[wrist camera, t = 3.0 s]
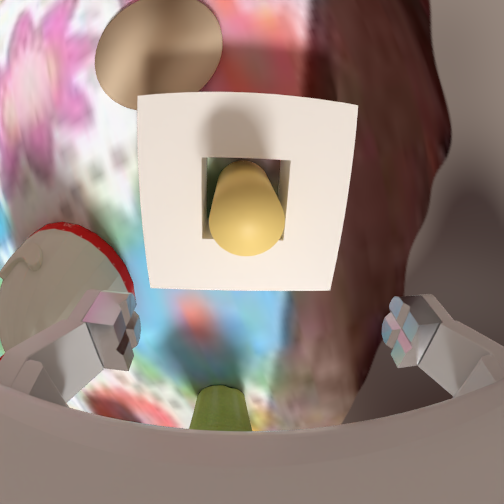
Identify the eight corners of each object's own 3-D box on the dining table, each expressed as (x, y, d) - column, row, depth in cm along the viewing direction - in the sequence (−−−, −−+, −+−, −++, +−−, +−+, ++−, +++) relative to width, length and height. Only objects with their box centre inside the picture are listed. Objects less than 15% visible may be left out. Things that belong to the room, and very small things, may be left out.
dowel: (216, 209, 23) (209, 255, 16) (217, 159, 21) (208, 184, 14) (266, 210, 23) (281, 257, 16) (270, 161, 22) (288, 187, 15)
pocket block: (161, 262, 25) (150, 287, 22) (154, 98, 19) (137, 95, 15) (317, 265, 26) (329, 290, 23) (338, 105, 20) (358, 105, 16)
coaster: (96, 117, 19) (93, 117, 18) (104, 7, 14) (101, 5, 14) (219, 108, 20) (218, 108, 19) (226, -7, 15) (226, -10, 15)
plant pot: (171, 384, 33) (162, 443, 25) (239, 368, 32) (242, 432, 24) (206, 419, 37) (204, 470, 29) (267, 405, 36) (273, 460, 28)
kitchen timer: (8, 240, 23) (-78, 323, 10) (102, 204, 22) (-7, 311, 9) (62, 338, 29) (15, 435, 16) (155, 329, 29) (123, 458, 15)
